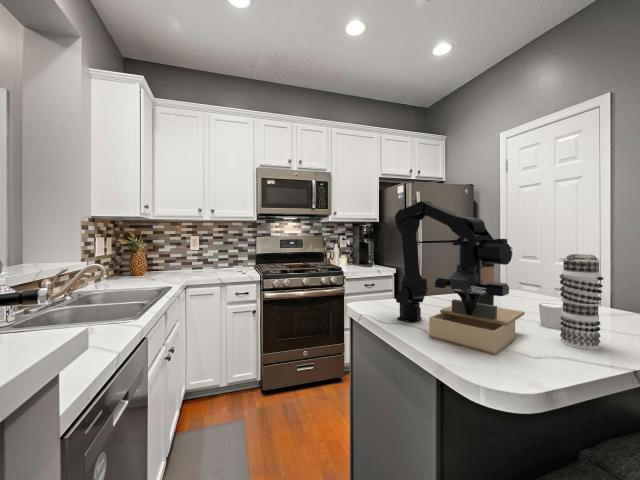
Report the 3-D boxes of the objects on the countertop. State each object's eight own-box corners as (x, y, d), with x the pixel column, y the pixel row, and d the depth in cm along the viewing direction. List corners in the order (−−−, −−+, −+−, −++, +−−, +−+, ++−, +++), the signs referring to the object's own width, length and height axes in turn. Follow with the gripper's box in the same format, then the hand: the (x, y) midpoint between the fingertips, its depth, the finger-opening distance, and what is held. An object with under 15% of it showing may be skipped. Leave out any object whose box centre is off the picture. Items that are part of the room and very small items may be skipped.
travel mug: (468, 307, 126) (469, 259, 125) (481, 305, 129) (481, 258, 128) (485, 311, 119) (486, 261, 118) (498, 309, 122) (498, 260, 121)
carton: (429, 337, 90) (429, 317, 90) (453, 326, 101) (453, 308, 101) (495, 355, 77) (495, 331, 77) (515, 340, 87) (515, 319, 87)
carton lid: (440, 312, 95) (440, 298, 95) (462, 304, 106) (462, 291, 106) (506, 325, 81) (506, 309, 81) (524, 314, 92) (524, 300, 92)
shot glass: (553, 330, 96) (554, 308, 96) (533, 324, 103) (533, 303, 103) (569, 328, 98) (570, 306, 98) (548, 322, 105) (549, 302, 105)
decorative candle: (577, 337, 90) (578, 253, 89) (611, 349, 80) (613, 255, 80) (550, 338, 88) (551, 253, 88) (581, 351, 79) (583, 256, 79)
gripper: (425, 261, 89) (425, 313, 89) (495, 266, 75) (494, 328, 75) (443, 258, 96) (443, 307, 97) (510, 263, 82) (509, 320, 83)
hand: (469, 315), depth 88 cm, fingers closed
